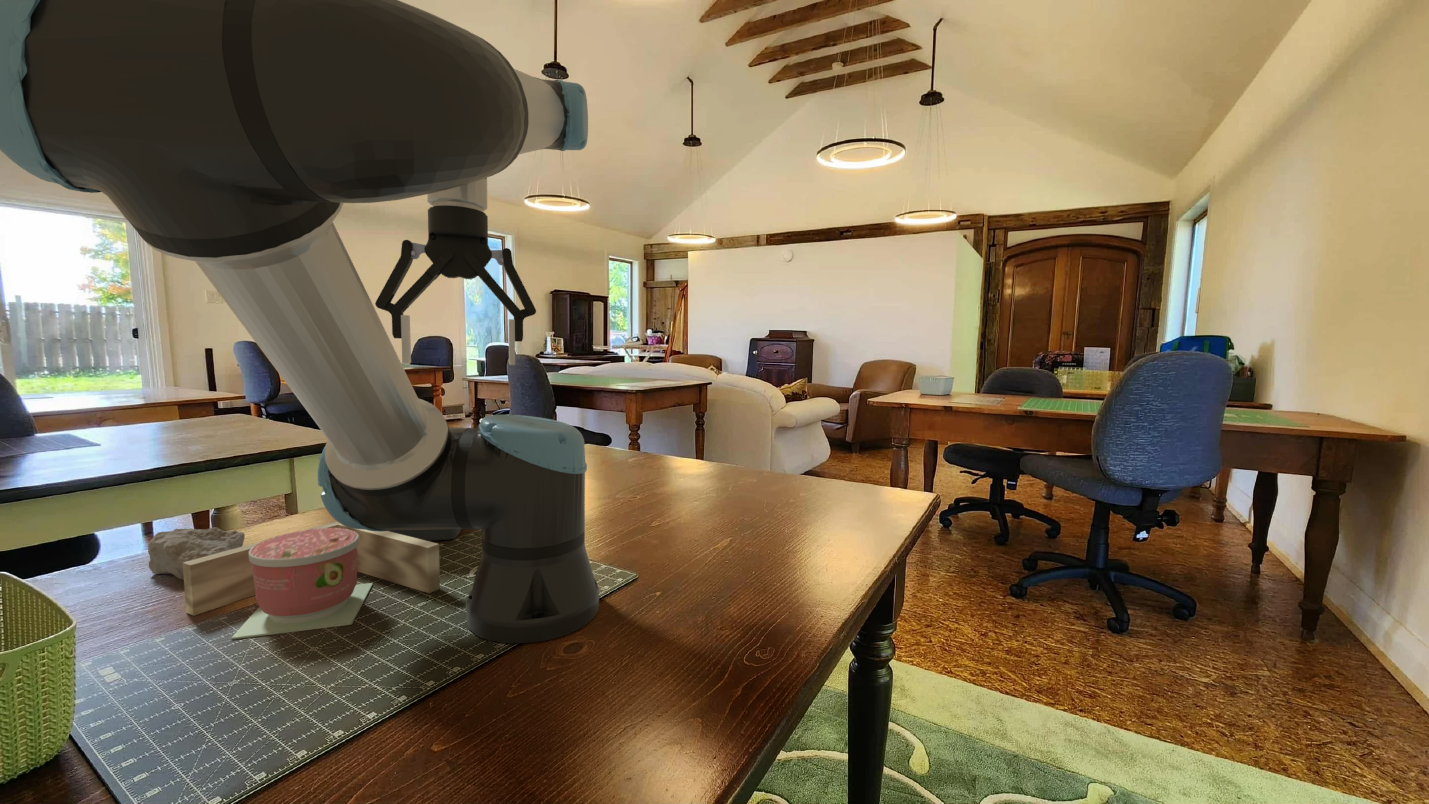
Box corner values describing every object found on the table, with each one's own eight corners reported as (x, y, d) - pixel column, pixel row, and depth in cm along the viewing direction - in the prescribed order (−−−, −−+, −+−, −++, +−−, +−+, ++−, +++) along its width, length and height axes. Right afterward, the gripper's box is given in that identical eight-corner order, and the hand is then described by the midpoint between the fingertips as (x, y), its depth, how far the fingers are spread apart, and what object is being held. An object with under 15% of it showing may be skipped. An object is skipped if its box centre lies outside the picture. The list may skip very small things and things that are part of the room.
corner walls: (439, 588, 74) (438, 543, 73) (287, 656, 57) (284, 599, 57) (343, 560, 82) (342, 519, 81) (186, 612, 65) (182, 562, 65)
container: (238, 637, 60) (234, 565, 59) (267, 596, 70) (264, 533, 69) (354, 619, 64) (351, 552, 64) (367, 583, 74) (364, 523, 73)
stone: (214, 584, 73) (210, 540, 72) (125, 589, 71) (120, 544, 71) (254, 560, 81) (250, 520, 80) (174, 563, 79) (170, 523, 78)
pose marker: (372, 584, 74) (372, 582, 74) (351, 624, 64) (351, 622, 64) (271, 594, 70) (271, 593, 70) (231, 639, 60) (231, 637, 60)
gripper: (549, 223, 86) (549, 363, 88) (358, 204, 77) (364, 361, 79) (554, 214, 79) (554, 366, 81) (345, 191, 70) (352, 364, 72)
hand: (461, 364), depth 80 cm, fingers open, 13 cm apart
